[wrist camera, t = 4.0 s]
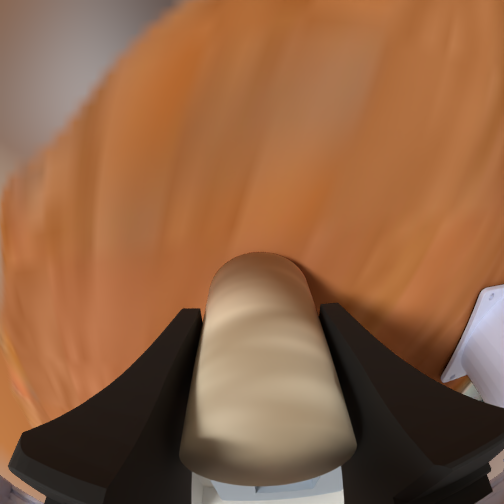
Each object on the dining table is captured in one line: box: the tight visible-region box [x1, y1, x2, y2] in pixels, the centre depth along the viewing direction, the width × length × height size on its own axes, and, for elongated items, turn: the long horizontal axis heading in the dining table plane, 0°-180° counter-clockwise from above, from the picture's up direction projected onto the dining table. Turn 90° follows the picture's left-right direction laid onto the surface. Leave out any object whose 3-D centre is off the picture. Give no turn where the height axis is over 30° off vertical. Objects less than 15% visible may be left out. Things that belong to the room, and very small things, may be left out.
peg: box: [179, 252, 357, 486], centre depth 8 cm, size 4×4×7 cm
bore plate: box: [211, 466, 343, 501], centre depth 18 cm, size 12×12×2 cm
